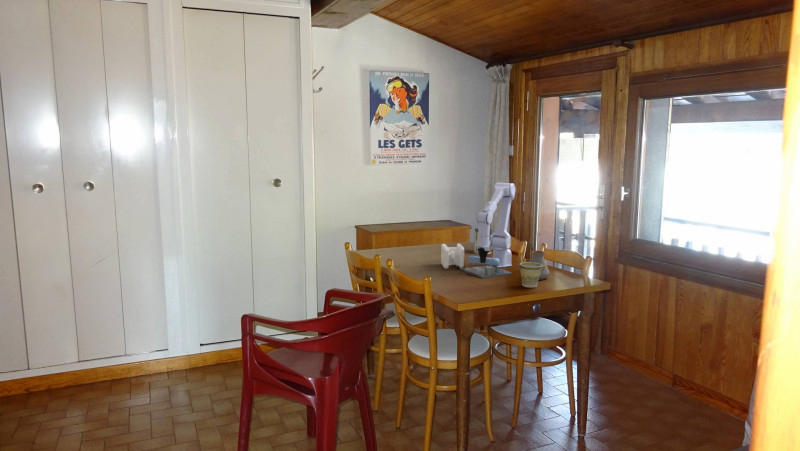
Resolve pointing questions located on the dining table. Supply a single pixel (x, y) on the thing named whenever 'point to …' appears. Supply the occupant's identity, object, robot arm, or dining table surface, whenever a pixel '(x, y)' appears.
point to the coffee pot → (539, 261)
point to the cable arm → (488, 261)
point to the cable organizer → (452, 256)
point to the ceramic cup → (530, 273)
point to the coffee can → (477, 241)
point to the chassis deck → (487, 275)
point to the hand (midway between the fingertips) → (482, 262)
